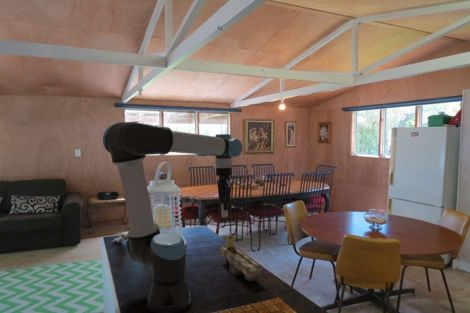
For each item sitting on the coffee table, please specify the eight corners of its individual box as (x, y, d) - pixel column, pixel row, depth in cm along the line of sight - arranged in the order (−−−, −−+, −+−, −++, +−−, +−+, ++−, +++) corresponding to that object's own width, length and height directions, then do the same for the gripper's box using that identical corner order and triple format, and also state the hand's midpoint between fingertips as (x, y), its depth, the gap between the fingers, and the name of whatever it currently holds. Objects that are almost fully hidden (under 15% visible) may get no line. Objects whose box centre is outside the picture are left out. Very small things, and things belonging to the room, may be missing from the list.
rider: (236, 251, 147) (236, 236, 146) (228, 253, 145) (228, 237, 145) (232, 249, 150) (232, 233, 150) (224, 250, 149) (224, 235, 148)
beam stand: (262, 283, 129) (262, 265, 128) (246, 287, 126) (246, 269, 125) (233, 259, 154) (233, 244, 154) (219, 262, 151) (219, 247, 151)
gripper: (237, 167, 147) (237, 218, 149) (225, 165, 159) (226, 212, 161) (221, 168, 144) (222, 220, 146) (211, 166, 156) (212, 214, 158)
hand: (224, 216), depth 153 cm, fingers closed
